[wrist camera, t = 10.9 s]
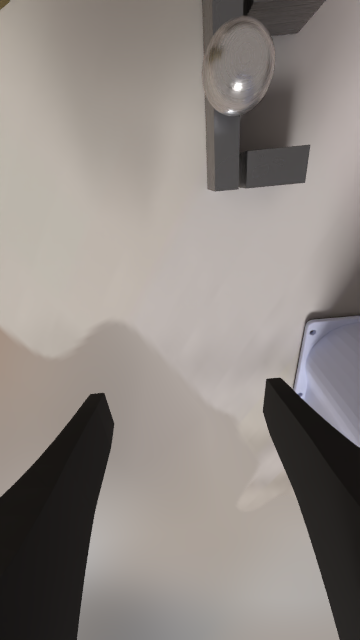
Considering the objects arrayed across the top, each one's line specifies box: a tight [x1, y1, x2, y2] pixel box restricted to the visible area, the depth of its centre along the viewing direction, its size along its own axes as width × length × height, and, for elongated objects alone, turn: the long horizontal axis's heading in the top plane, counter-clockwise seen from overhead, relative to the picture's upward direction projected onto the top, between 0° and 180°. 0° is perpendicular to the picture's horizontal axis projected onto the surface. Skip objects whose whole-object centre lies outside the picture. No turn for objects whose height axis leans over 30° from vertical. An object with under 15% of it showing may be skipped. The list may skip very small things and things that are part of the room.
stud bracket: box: [202, 0, 326, 191], centre depth 11 cm, size 8×5×6 cm, turn 5°
